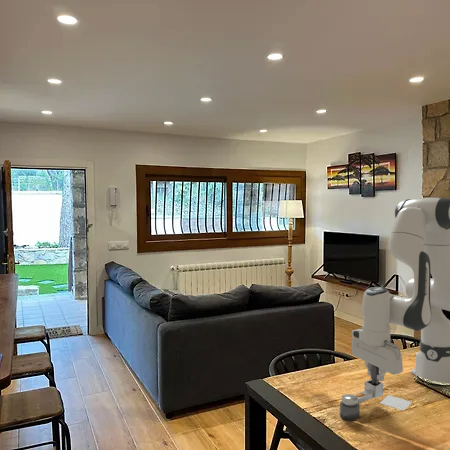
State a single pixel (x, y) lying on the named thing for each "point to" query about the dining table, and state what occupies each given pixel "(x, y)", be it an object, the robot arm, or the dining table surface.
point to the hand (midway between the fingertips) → (375, 377)
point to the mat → (396, 402)
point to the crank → (363, 395)
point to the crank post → (349, 412)
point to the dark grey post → (374, 375)
